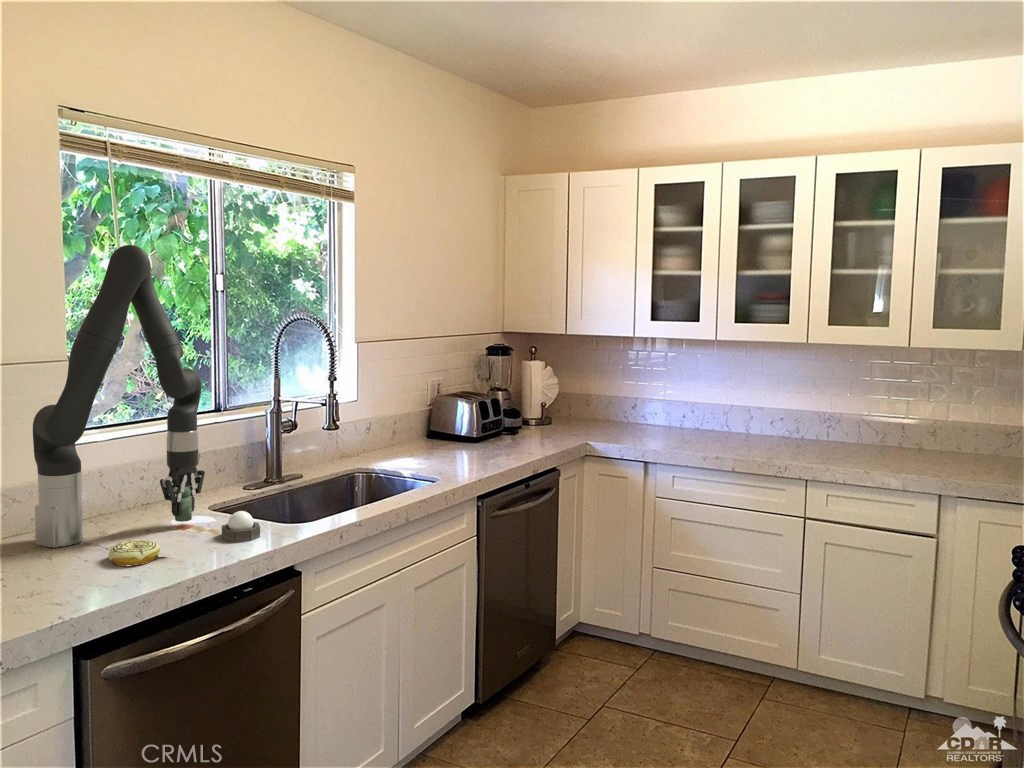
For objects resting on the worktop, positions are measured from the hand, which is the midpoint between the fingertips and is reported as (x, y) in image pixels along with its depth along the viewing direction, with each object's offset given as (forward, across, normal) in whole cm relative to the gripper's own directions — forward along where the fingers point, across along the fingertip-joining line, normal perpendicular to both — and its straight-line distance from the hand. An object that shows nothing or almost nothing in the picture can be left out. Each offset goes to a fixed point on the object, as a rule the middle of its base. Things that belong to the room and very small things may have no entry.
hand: (183, 513), depth 213 cm
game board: (+5, 0, -10) cm, 11 cm away
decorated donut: (+5, -22, -6) cm, 24 cm away
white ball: (+3, 0, -18) cm, 18 cm away
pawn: (+2, 0, 0) cm, 2 cm away
